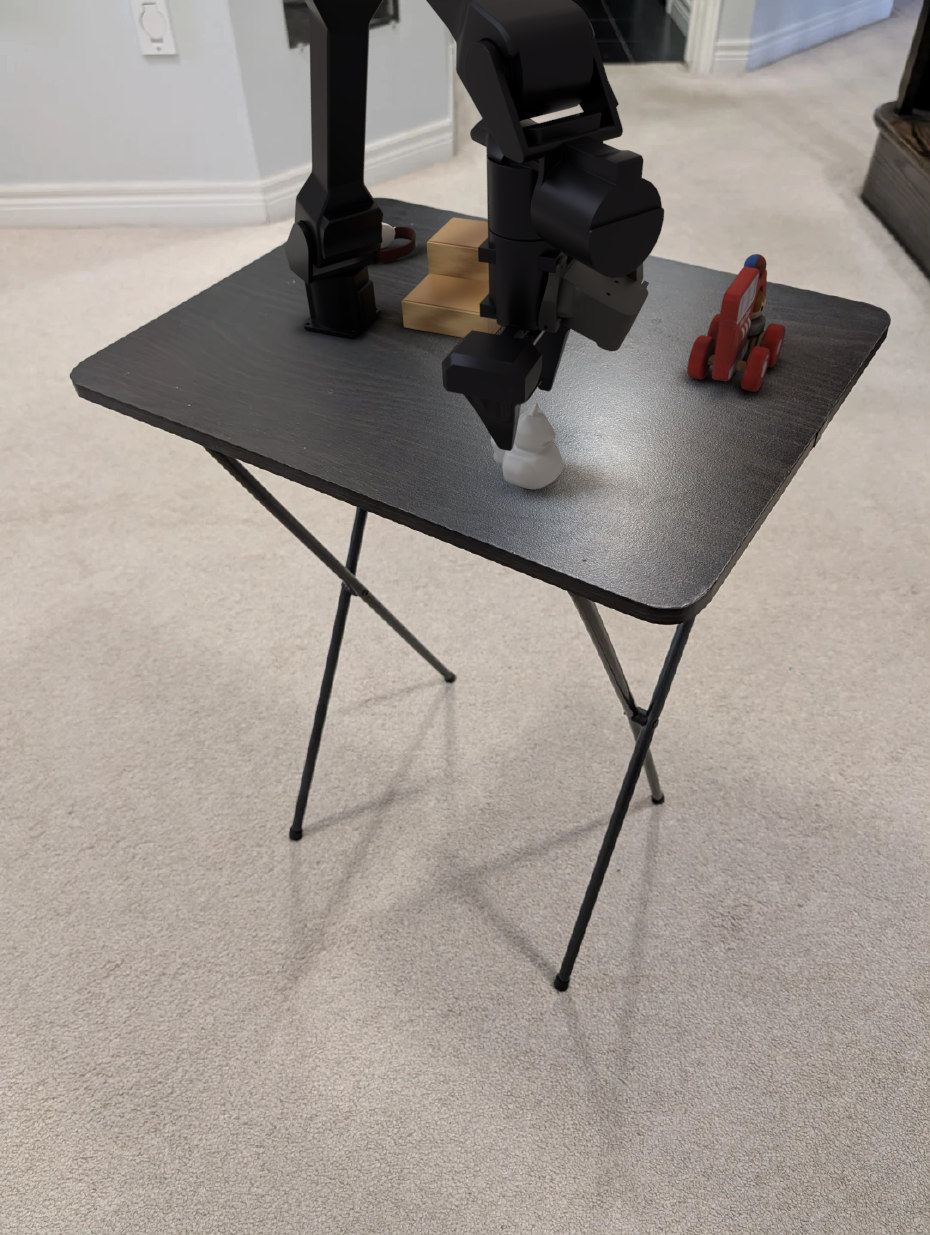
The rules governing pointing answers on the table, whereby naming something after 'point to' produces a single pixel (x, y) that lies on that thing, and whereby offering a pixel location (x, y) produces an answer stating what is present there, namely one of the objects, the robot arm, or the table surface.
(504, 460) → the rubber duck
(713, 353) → the toy fire truck
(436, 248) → the step shelf
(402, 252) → the watch
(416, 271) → the table surface
